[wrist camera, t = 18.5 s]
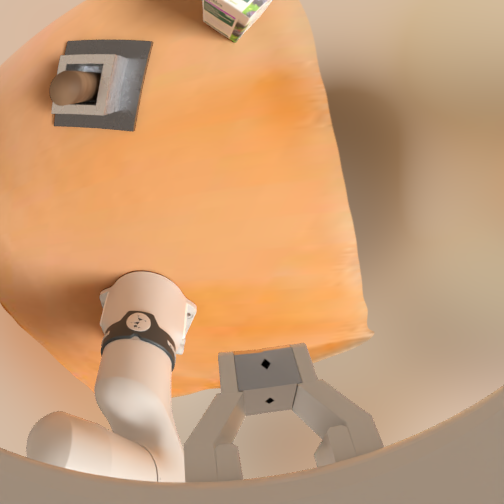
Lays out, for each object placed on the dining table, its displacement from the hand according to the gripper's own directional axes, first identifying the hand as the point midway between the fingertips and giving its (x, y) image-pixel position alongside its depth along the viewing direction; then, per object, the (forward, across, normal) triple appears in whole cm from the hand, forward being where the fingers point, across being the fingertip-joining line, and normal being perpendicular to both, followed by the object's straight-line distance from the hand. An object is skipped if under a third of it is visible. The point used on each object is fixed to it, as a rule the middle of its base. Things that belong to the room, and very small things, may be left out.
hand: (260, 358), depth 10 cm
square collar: (+35, +17, -12) cm, 41 cm away
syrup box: (+35, -2, -19) cm, 40 cm away
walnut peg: (+34, +17, -11) cm, 40 cm away
